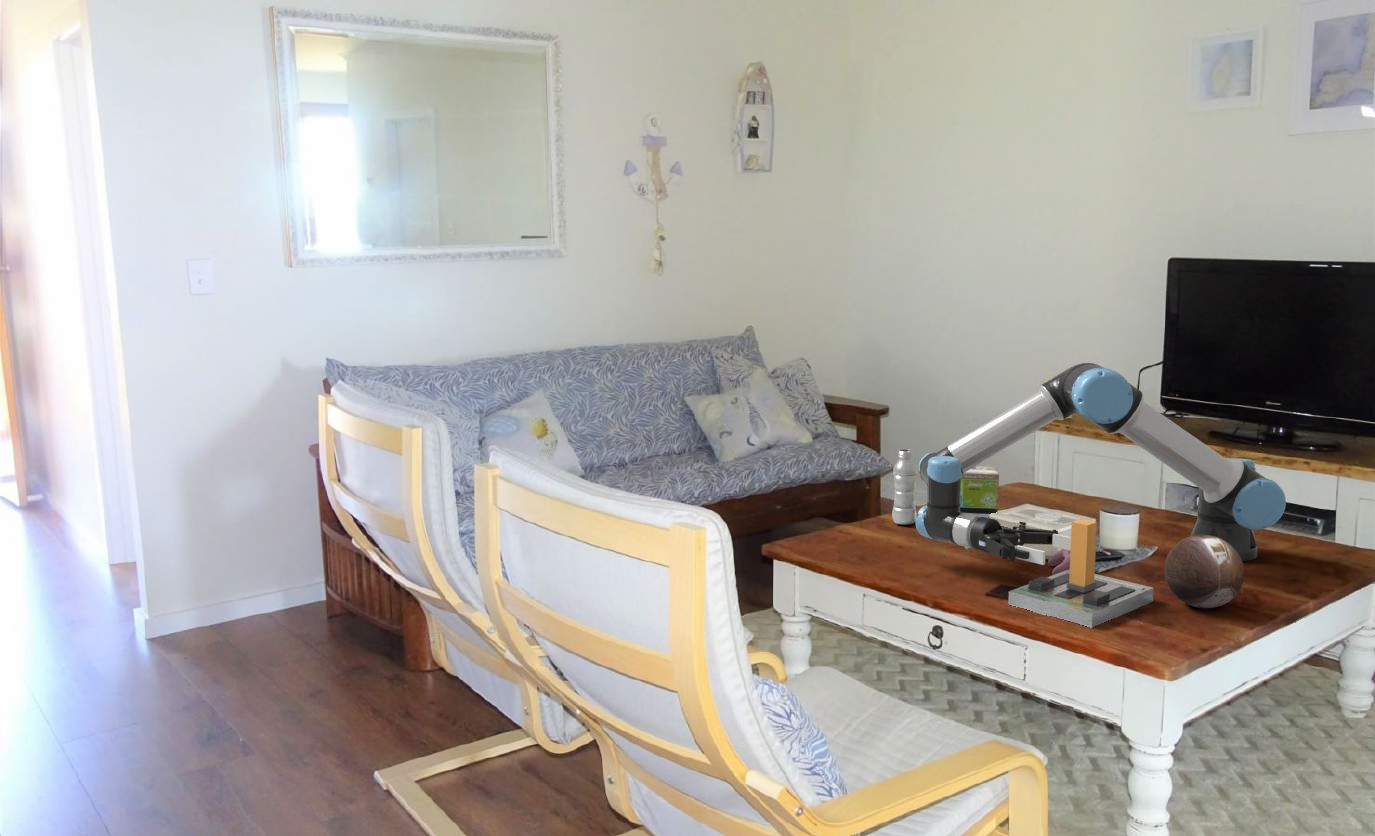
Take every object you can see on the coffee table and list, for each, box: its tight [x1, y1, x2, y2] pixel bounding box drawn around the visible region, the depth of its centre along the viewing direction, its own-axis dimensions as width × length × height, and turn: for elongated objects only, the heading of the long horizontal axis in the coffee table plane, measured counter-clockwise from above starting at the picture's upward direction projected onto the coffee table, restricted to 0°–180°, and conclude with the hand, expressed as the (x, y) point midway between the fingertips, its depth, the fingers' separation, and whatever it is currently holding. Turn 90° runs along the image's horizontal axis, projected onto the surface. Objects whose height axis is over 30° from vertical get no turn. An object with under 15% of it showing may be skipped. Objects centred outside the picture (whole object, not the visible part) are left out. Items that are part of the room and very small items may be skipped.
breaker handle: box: [1067, 518, 1098, 593], centre depth 237 cm, size 5×4×14 cm
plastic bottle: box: [891, 448, 918, 526], centre depth 303 cm, size 6×7×20 cm
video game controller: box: [1047, 548, 1070, 576], centre depth 260 cm, size 10×5×7 cm, turn 169°
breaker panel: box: [1007, 569, 1155, 629], centre depth 239 cm, size 24×19×5 cm
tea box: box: [960, 465, 1000, 518], centre depth 305 cm, size 15×10×15 cm, turn 80°
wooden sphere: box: [1163, 535, 1245, 609], centre depth 235 cm, size 15×15×15 cm
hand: (1062, 551), depth 240 cm, fingers open, 13 cm apart
